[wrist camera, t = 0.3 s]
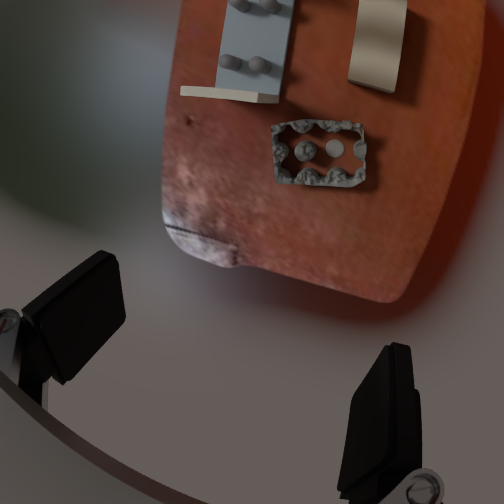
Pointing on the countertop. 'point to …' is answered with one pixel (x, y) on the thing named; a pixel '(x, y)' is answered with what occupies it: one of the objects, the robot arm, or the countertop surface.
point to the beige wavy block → (378, 44)
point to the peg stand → (251, 52)
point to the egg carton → (308, 151)
